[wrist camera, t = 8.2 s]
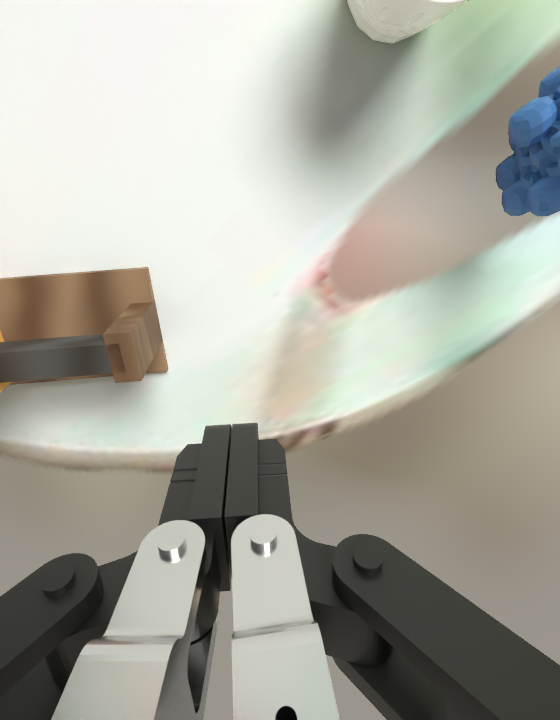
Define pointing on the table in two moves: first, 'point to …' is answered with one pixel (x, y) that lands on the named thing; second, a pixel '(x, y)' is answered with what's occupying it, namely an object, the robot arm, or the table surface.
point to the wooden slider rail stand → (79, 327)
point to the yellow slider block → (3, 385)
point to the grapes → (534, 154)
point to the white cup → (398, 16)
